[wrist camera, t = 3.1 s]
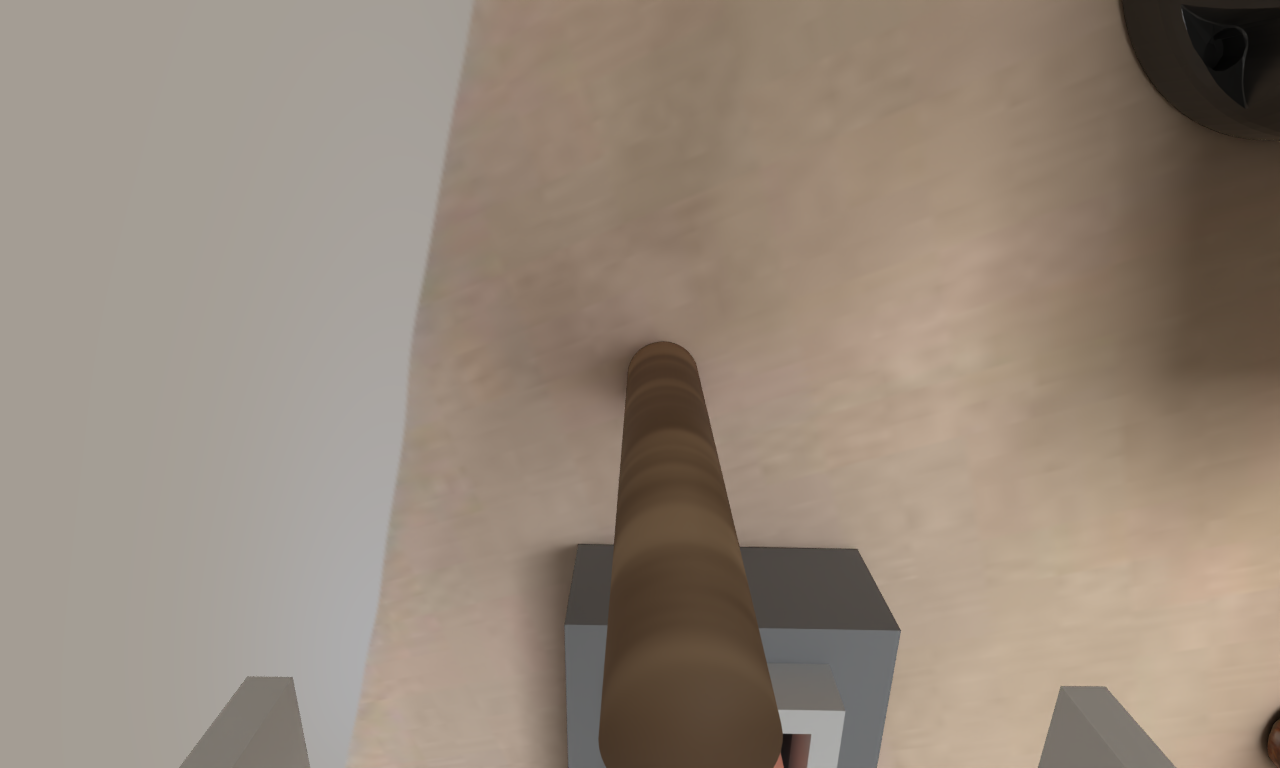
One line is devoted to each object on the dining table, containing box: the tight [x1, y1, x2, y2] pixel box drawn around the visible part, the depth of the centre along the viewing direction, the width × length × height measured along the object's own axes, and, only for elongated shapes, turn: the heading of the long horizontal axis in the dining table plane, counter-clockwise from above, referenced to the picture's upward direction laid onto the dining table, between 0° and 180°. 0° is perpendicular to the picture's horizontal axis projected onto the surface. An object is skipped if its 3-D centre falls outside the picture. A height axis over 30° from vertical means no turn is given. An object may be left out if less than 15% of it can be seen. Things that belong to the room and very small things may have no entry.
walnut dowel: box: [598, 342, 783, 768], centre depth 21 cm, size 3×3×20 cm
